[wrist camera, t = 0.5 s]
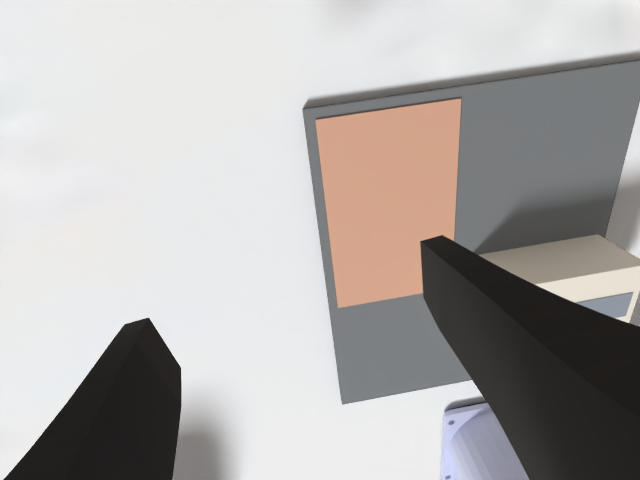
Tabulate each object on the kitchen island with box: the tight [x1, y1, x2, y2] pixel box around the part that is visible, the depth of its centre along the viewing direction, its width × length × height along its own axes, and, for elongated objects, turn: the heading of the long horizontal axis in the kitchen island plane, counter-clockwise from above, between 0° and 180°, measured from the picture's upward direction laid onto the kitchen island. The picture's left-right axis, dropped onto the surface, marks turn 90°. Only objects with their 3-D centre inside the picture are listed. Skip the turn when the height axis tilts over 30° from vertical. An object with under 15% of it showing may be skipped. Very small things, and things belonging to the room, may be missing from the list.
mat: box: [303, 60, 640, 405], centre depth 23 cm, size 20×17×1 cm
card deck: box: [479, 234, 640, 323], centre depth 23 cm, size 5×8×4 cm, turn 97°
